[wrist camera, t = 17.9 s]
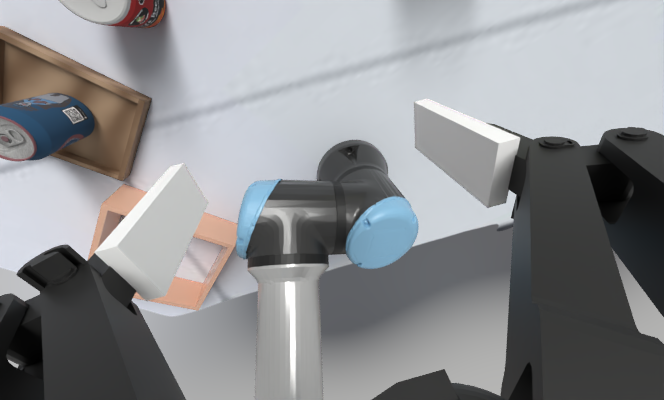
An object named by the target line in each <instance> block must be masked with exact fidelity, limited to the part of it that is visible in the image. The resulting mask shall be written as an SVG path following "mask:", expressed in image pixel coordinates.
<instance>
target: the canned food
mask: <svg viewBox="0 0 664 400" xmlns="http://www.w3.org/2000/svg"><path fill="white" fill-rule="evenodd" d="M59 1H60V2H61V3H62V4H63V5H64V6H65V7H66V8H67V9H69V10H70V11H71V12H73V13H74V14H75V15H77V16H79V17H81V18H83V19H85V20H87V21H90V22H93V23H96V24H101V25H109V26H123V27H138V28H150V27H153V26H155V25H157V24H158V23H159V22H160V21H161V20H162V18H163V16H164V13H165V0H59Z"/></svg>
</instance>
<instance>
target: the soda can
mask: <svg viewBox="0 0 664 400" xmlns="http://www.w3.org/2000/svg"><path fill="white" fill-rule="evenodd" d="M94 127H95V121H94V116H93V114H92V112H91V111H90V109H89V108H88V107H87V106H86V105H85V104H84V103H82V102H81V101H79V100H77V99H75V98H73V97H71V96H68V95H65V94H61V93H48V94H44V95H40V96H36V97H31V98H27V99H23V100H19V101H14V102H10V103H6V104H2V105H0V158H3V159H6V160H10V161H25V160H39V159H42V158H44V157H47V156H49V155H51V154H53V153H55V152H57V151H59V150H61V149H63V148H65V147H67V146H69V145H71V144H73V143H75V142H77V141H79V140H81V139H83V138H85V137H87V136H89V135H90V134H91V133H92V132H93V130H94Z"/></svg>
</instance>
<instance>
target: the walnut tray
mask: <svg viewBox="0 0 664 400" xmlns="http://www.w3.org/2000/svg"><path fill="white" fill-rule="evenodd" d="M48 93H61V94H65V95H68V96H71V97H73V98H75V99H77V100H79V101H81V102H82V103H84V104H85V105H86V106H87V107H88V108H89V109H90V111H91V112H92V114H93V116H94V121H95V127H94V130H93V132H92V133H91V134H90V135H89V136H87V137H85V138H83V139H81V140H79V141H77V142H75V143H73V144H71V145H69V146H67V147H65V148H63V149H61V150H59V151H57V152H55V153H53V154H51V156H54V157H56V158H59V159H62V160H65V161H68V162H70V163H73V164H76V165H79V166H82V167H84V168H87V169H90V170H93V171H96V172H99V173H101V174H104V175H107V176H110V177H113V178H115V179H118V180H121V181H123V180H124V179H126V178H127V177H128V176H129V175H130V172H131V169H132V165H133V162H134V158H135V155H136V151H137V148H138V144H139V141H140V137H141V134H142V131H143V127H144V124H145V120H146V117H147V113H148V110H149V106H150V103H151V98H149V97H147V96H145V95H143V94H141V93H139V92H137V91H135V90H133V89H131V88H129V87H127V86H125V85H123V84H121V83H119V82H117V81H115V80H113V79H111V78H109V77H107V76H104V75H102V74H100V73H98V72H96V71H94V70H92V69H90V68H88V67H86V66H84V65H82V64H80V63H78V62H76V61H74V60H72V59H70V58H68V57H66V56H64V55H62V54H60V53H58V52H56V51H54V50H51V49H49V48H47V47H45V46H43V45H41V44H39V43H37V42H35V41H33V40H31V39H29V38H27V37H25V36H23V35H21V34H19V33H17V32H15V31H13V30H11V29H9V28H7V27H5V26H0V105H2V104H6V103H10V102H14V101H19V100H23V99H27V98H31V97H36V96H40V95H44V94H48Z"/></svg>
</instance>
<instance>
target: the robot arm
mask: <svg viewBox="0 0 664 400" xmlns="http://www.w3.org/2000/svg"><path fill="white" fill-rule="evenodd" d="M414 124H415V148H416V149H417V150H418V151H420V152H421V153H422V154H423V155H424V156H426V157H427V158H428V159H429V160H430V161H432V162H433V163H434V164H435V165H437V166H438V167H439V168H440V169H441V170H443V171H444V172H445V173H446V174H447V175H449V176H450V177H451V178H452V179H453V180H455V181H456V182H457V183H458V184H459V185H461V186H462V187H463V188H464V189H465V190H467V191H468V192H469V193H470V194H471V195H473V196H474V197H475V198H476V199H477V200H479V201H480V202H481V203H482V204H483V205H485V206H486V207H487V208H489V207H493V206H496V205H500V204H503V203H506V200H507V196H508V191H509V190H510V191H512V192H513V193H515V194H516V195H517V196H516V200H515V204H514V208H513V212H512V216H511V218H513V219H514V224H513V242H512V260H511V278H510V295H509V313H508V314H509V315H508V333H507V349H506V364H505V372H504V377H503V382H502V388H501V396H499V395H496V394H494V393H492V392H489V391H487V390H484V389H480V388H477V387H474V386H470V385H464V384H459V383H458V384H457V383H451V382H450V380H449V378H448V376H447V374H446V372H445V370H444V369H443V370H440V371H436V372H433V373H429V374H426V375H422V376H419V377H415V378H412V379H409V380H405V381H401V382H398V383H396V384H394V385H393V386H391V387H390V388H388V389H387V390H385V391H384V392H382V393H381V394H380V395H378V396H377V397H375V398H374V399H372V400H664V344H663V343H662V342H661V341H660V340H659V339H658V338H655V337H651V336H648V335H644V334H641V333H640V332H639V331H638V329H637V327H636V325H635V322H634V319H633V316H632V313H631V309H630V306H629V303H628V300H627V296H626V293H625V290H624V287H623V283H622V280H621V277H620V274H619V270H618V267H617V264H616V261H615V258H614V255H613V251H612V249H613V250H614V251H615V253H616V254H617V255H618V257H619V258H620V259H621V261H622V262H623V263H624V265H625V266H626V267H627V269H628V270H629V271H630V273H631V274H632V275H633V277H634V278H635V279H636V281H637V282H638V283H639V285H640V286H641V287H642V289H643V290H644V291H645V293H646V294H647V295H648V297H649V298H650V300H651V301H652V302H653V303H654V305H655V306H656V308H657V309H658V310H659V312H660V313H661V314H662V316H663V317H664V136H663V135H662V134H659V133H657V132H654V131H650V130H645V129H644V128H636V127H628V128H619V129H611V130H609V131H606V132H605V133H604V134H603V136H602V138H601V140H600V143H599V145H591V146H580V145H579V144H578V143H577V142H576V141H574V140H571V139H568V138H563V137H541V138H536V139H534V140H532V139H530V138H527V137H525V136H522V135H520V134H517V133H515V132H512V131H510V130H507V129H504V128H502V127H500V126H497V125H495V124H489V123H484V122H482V121H480V120H477V119H475V118H472V117H470V116H468V115H465V114H463V113H460V112H458V111H456V110H453V109H451V108H448V107H446V106H444V105H441V104H439V103H436V102H434V101H432V100H429V99H424V100H420V101H416V102H414ZM317 179H318V181H300V180H282V179H278V180H268V181H256V182H254V183H253V184H251V185H250V186H249V188H248V189H247V191H246V193H245V195H244V198H243V201H242V204H241V208H240V213H239V218H238V225H237V242H236V251H237V255H238V256H239V257H241V258H243V259H248V272H249V273H250V274H251V275H252V276H253V277H254V278H255V279H256V280H257V282H258V309H257V341H256V342H257V343H256V373H255V400H323V379H322V378H323V377H322V353H321V352H322V350H321V323H320V296H319V279H320V277H321V275H322V274H323V273H324V272H325V271H326V269H327V268H328V267H329V262H328V255H330V254H346V255H347V256H348V258H349V259H350V260H351V261H352V263H354V264H357V266H358V267H361V268H366V269H375V268H381V267H384V266H387V265H389V264H391V263H393V262H395V261H396V260H398V259H399V258H400V257H401V256H402V255H404V254H405V253H406V252H407V251H408V250H409V249H410V248H411V246H412V245H413V243H414V241H415V239H416V237H417V233H418V220H417V217H416V215H415V213H414V212H413V210H412V208H411V205H410V203H409V202H408V201H407V200H406V199H405V197H404V196H403V195H402V194H401V192H400V191H399V190H398V189H397V187H396V186H395V185H394V184H393V182H392V181H391V180H390V179H389V177H388V167H387V163H386V160H385V158H384V157H383V155H382V154H381V153H380V151H379V150H378V149H377V148H376V147H375V146H373V145H372V144H370V143H368V142H365V141H361V140H349V141H345V142H342V143H339V144H337V145H335V146H334V147H332V148H331V149H330V150H329V151H328V152H327V153H326V154H325V155H324V156H323V158H322V159H321V161H320V164H319V167H318V171H317ZM207 205H208V202H207V200H206V198H205V197H204V195H203V193H202V192H201V190H200V188H199V187H198V185H197V183H196V182H195V180H194V179H193V177H192V175H191V174H190V172H189V170H188V169H187V167H186V165H185V164H184V163H182V164H178V165H174V166H171V167H170V168H169V169H168V170H167V171H166V172H165V173H164V174H163V175H162V177H161V178H160V179H159V180H158V181H157V182H156V183H155V184H154V186H153V187H152V188H151V189H150V190H149V191H148V192H147V193H146V195H145V196H144V197H143V198H142V199H141V200H140V201H139V202H138V203H137V205H136V206H135V207H134V208H133V209H132V210H131V211H130V212H129V214H128V215H127V216H126V217H125V218H124V219H123V220H122V221H121V223H120V224H119V225H118V226H117V227H116V228H115V229H114V230H113V232H112V233H111V234H110V235H109V236H108V237H107V238H106V239H105V241H104V242H103V243H102V244H101V245H100V246H99V247H98V248H97V250H96V251H95V252H94V254H93V255H92V256H91V258H90V259H89V260H88V261H86V260H85V259H84V258H82V257H81V256H80V255H79V254H78V253H77V252H76V251H75V250H73V249H72V248H71V247H70V246H69V245H60V246H57V247H54V248H52V249H50V250H47V251H45V252H43V253H41V254H40V255H38V256H36V257H35V258H33V259H32V260H30V261H29V262H28V263H26V264H25V265H24V266H23V267H22V268H21V269H20V270H19V271H18V273H17V275H18V276H19V277H20V278H22V279H23V280H24V281H26V282H28V283H29V284H30V285H32V286H33V287H35V288H36V289H37V290H39V291H40V295H38V296H36V297H34V298H32V299H29V300H27V301H25V302H24V301H23V300H21V299H20V298H18V297H17V296H15V295H13V294H5V295H2V296H0V400H186V399H185V397H184V395H183V393H182V391H181V389H180V387H179V385H178V383H177V381H176V379H175V378H174V376H173V374H172V372H171V370H170V368H169V366H168V364H167V362H166V360H165V358H164V356H163V354H162V352H161V351H160V349H159V347H158V345H157V343H156V341H155V339H154V337H153V335H152V333H151V331H150V329H149V327H148V325H147V324H146V322H145V320H144V318H143V316H142V314H141V312H140V310H139V308H138V306H137V305H135V304H134V303H133V302H132V301H131V300H132V298H133V296H134V295H135V293H136V292H137V293H138V294H139V295H140V296H141V297H142V298H143V299H144V300H146V301H149V300H152V299H156V298H160V297H163V296H166V294H167V292H168V289H169V287H170V285H171V283H172V281H173V279H174V276H175V274H176V272H177V270H178V268H179V266H180V263H181V261H182V259H183V257H184V255H185V253H186V250H187V248H188V246H189V244H190V242H191V240H192V237H193V235H194V233H195V231H196V229H197V227H198V224H199V222H200V220H201V218H202V216H203V214H204V211H205V209H206V207H207ZM611 247H612V248H611ZM8 360H10V361H12V362H14V363H16V364H19V366H18V368H16V367H14V366H12V365H11V364H10V363H9V362H8Z"/></svg>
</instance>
